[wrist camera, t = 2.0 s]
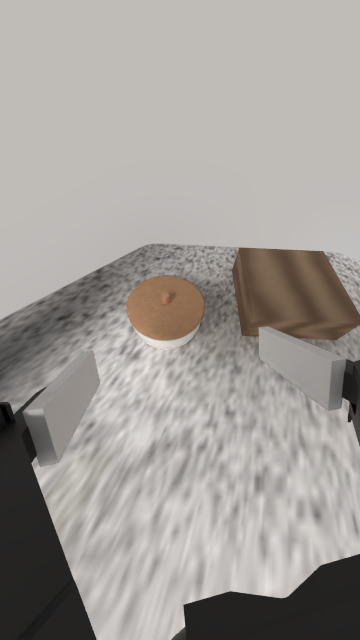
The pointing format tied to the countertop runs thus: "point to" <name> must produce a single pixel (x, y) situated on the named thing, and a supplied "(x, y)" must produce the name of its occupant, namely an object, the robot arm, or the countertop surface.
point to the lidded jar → (165, 311)
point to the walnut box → (291, 294)
